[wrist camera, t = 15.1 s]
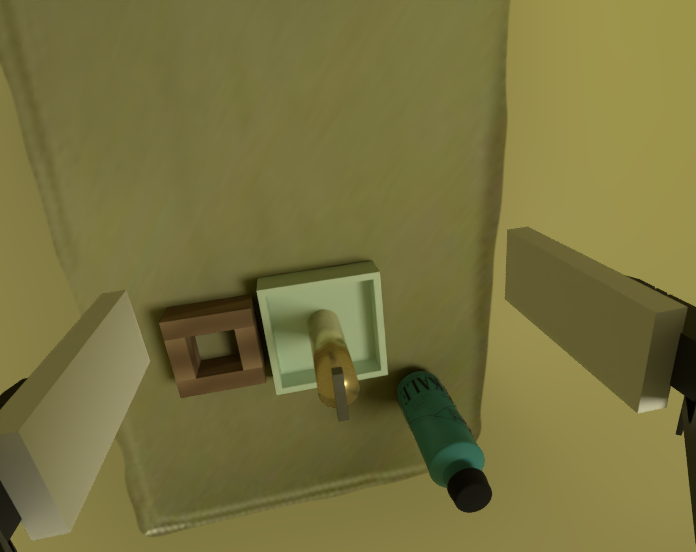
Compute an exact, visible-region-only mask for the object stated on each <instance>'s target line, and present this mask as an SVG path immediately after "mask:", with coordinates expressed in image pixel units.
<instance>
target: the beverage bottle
mask: <svg viewBox="0 0 696 552" xmlns="http://www.w3.org/2000/svg"><path fill="white" fill-rule="evenodd" d="M444 389H445V387H444V388H443V385H442V384H441V383H440V382H439V380H438V378H437V377H435V376H434V375H433V374H431V373H429V372H425V371H419V372H414V373H411V374H409V375H408V376H406V377H405V378H404V379H403V380H402V381H401V383H400V384H399V386H398V390H397V397H398V402H399V403H400V405H399V406H401V410H403V412H404V415H405V417H406V419H407V420H406V419H405V420H406V421H407V422H408V424H409V426H410V429H411V431H412V432H413V435H414V437H415V439H416V442H417V444H418V446H419V449H420V451H421V454H422V456H423V458H424V461H425V463H426V465H427V468H428V470H429V474H430V476H431V478H432V480H433V481H434V482H435V483H436V484H438V485H439V486H442V487H445V488H447V490H448V493H449V495H450V497H451V498H452V500H453V501H454V503H455V505H456V506H457V508H458V509H460V510H461V511H463V512H467V513H471V512H476V511H479V510H481V509H483V508H484V507H485V506H486V505H487V504H488V503H489V502H490V500H491V497H492V491H491V488H490V486H489V484H488V481H487V478H486V476H485V475H484V473H483V472H482V469H483V467H484V462H485V459H484V454H483V452H482V450H481V449H480V447H478V445H477V443H476V441H475V439H474V438H473V436H474V435H473V436H472V434H473V433H472V434H471V432H470V431H471V430H469V429H470V428H469V429H468V428H467V426H468V425H467V426H466V424H467V423H464V420H463V418H461V416H460V414H459V412H458V411H457V408H455V407H456V405H455V406H454V405H453V402H452V400H451V398H450V396H448V395H449V394H448V393H447V391H445V390H444ZM447 394H448V395H447ZM404 415H403V416H404ZM405 417H404V418H405ZM468 427H469V426H468ZM410 429H409V430H410Z"/></svg>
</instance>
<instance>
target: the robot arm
mask: <svg viewBox="0 0 696 552" xmlns="http://www.w3.org/2000/svg"><path fill="white" fill-rule="evenodd" d="M506 257H507V258H506V286H505V300H507V301H508V302H509V303H510V304H511V305H513V306H514V307H515V308H516V309H517V310H518V311H519V312H521V313H522V314H523V315H524V316H525V317H526V318H528V319H529V320H530V321H531V322H532V323H533V324H535V325H536V326H537V327H538V328H539V329H540V330H542V331H543V332H544V333H545V334H546V335H547V336H549V337H550V338H551V339H552V340H553V341H554V342H556V343H557V344H558V345H559V346H560V347H561V348H562V349H563V350H565V351H566V352H567V353H568V354H569V355H570V356H572V357H573V358H574V359H575V360H576V361H577V362H579V363H580V364H581V365H582V366H583V367H584V368H586V369H587V370H588V371H589V372H590V373H591V374H592V375H594V376H595V377H596V378H597V379H598V380H599V381H601V382H602V383H603V384H604V385H605V386H606V387H608V388H609V389H610V390H611V391H612V392H614V393H615V394H616V395H617V396H618V397H619V398H620V399H622V400H623V401H624V402H625V403H626V404H627V405H628V406H630V407H631V408H632V409H633V410H634V411H635V412H637V413H642V412H647V411H651V410H656V409H661V408H665V407H666V406H667V402H668V397H669V392H670V388H671V386H672V387H673V388H675V389H676V390H678V391H679V392H680V393H682V394H683V395H684V400H683V404H682V409H681V413H680V417H679V422H678V426H677V430H676V434H677V435H682V433H683V430H684V438H685V447H686V457H687V467H688V476H689V485H690V494H691V504H692V514H693V523H694V533H695V542H696V307H695V306H693V305H691V304H689V303H687V302H684V301H683V300H681V299H679V298H676V297H674V296H672V295H667V293H666V292H664V291H662V290H660V289H658V288H656V289H655V287H654V286H652V285H650V284H648V283H646V282H644V281H642V280H640V279H636V278H633V277H629V276H626V275H623V274H621V273H619V272H617V271H615V270H613V269H611V268H609V267H607V266H605V265H603V264H601V263H599V262H597V261H595V260H593V259H591V258H589V257H587V256H585V255H583V254H581V253H579V252H577V251H575V250H573V249H571V248H569V247H567V246H565V245H563V244H561V243H559V242H557V241H555V240H553V239H551V238H549V237H547V236H545V235H543V234H541V233H539V232H537V231H535V230H533V229H531V228H529V227H522V228H516V229H509V230H507V256H506ZM149 363H150V359H149V356H148V353H147V350H146V347H145V344H144V341H143V338H142V335H141V332H140V329H139V326H138V323H137V320H136V317H135V314H134V311H133V308H132V305H131V302H130V299H129V296H128V293H127V290H122V291H116V292H110V293H103V294H101V295H100V296H99V298H98V299H97V300H96V301H95V302H94V303H93V304H92V306H91V307H90V308H89V309H88V310H87V311H86V312H85V314H84V315H83V316H82V317H81V318H80V320H78V322H77V323H76V324H75V325H74V326H73V327H72V328H71V330H70V331H69V332H68V333H67V334H66V335H65V337H64V338H63V339H62V340H61V341H60V342H59V343H58V344H57V346H56V347H55V348H54V349H53V350H52V351H51V352H50V354H49V355H48V356H47V357H46V358H45V359H44V360H43V361H42V363H41V364H40V365H39V366H38V367H37V368H36V369H35V371H34V372H33V373H32V374H31V375H30V376H29V377H28V378H26V379H22V380H20V381H19V382H18V383H16V384H15V385H14V386H12V387H11V388H9V389H8V390H6V391H5V392H4V393H2V394H1V395H0V552H17V550H16V548H15V547H14V545H13V543H12V542H11V540H10V538H11V536H12V535H13V533H14V531H15V530H16V528H17V526H18V525H19V523H20V521H21V522H22V524H23V526H24V528H25V529H26V531H27V533H28V535H29V536H30V538H31V540H32V541H33V540H38V539H42V538H48V537H52V536H57V535H62V534H66V533H70V532H71V530H72V528H73V526H74V524H75V521H76V519H77V517H78V515H79V513H80V511H81V509H82V506H83V504H84V502H85V500H86V498H87V496H88V493H89V491H90V489H91V487H92V485H93V483H94V481H95V478H96V476H97V474H98V472H99V470H100V468H101V466H102V463H103V461H104V459H105V457H106V455H107V453H108V451H109V448H110V446H111V444H112V442H113V440H114V438H115V436H116V433H117V431H118V429H119V427H120V425H121V423H122V421H123V418H124V416H125V414H126V412H127V410H128V408H129V406H130V403H131V401H132V399H133V397H134V395H135V393H136V391H137V388H138V386H139V384H140V382H141V380H142V378H143V376H144V373H145V371H146V369H147V367H148V365H149Z"/></svg>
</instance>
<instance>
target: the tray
mask: <svg viewBox="0 0 696 552" xmlns="http://www.w3.org/2000/svg"><path fill="white" fill-rule="evenodd" d="M257 296H258V301H259V306H260V311H261V316H262V322H263V327H264V332H265V337H266V342H267V347H268V352H269V358H270V363H271V368H272V373H273V378H274V383H275V388H276V394H277V395H280V394H285V393H291V392H296V391H302V390H307V389H313V388H317V382H316V376H315V370H314V364H313V358H312V351H311V345H310V339H309V333H308V327H307V323H308V319H309V317H310V316H311V315H312V314H313V313H314V312H316V311H318V310H323V309H326V310H330V311H332V312H334V313H335V314H336V315H337V317H338V319H339V322H340V325H341V328H342V331H343V334H344V337H345V341H346V344H347V347H348V350H349V353H350V356H351V360H352V363H353V366H354V369H355V372H356V375H357V378H358V380H362V379H368V378H373V377H379V376H384V375H388V369H387V357H386V344H385V332H384V319H383V306H382V294H381V281H380V271H379V270H378V268H377V267H376V265H375V264H374V262H373V261H366V262H360V263H353V264H346V265H340V266H333V267H327V268H320V269H313V270H307V271H300V272H294V273H287V274H280V275H274V276H267V277H261V278H258V279H257Z"/></svg>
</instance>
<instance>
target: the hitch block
mask: <svg viewBox="0 0 696 552" xmlns="http://www.w3.org/2000/svg"><path fill="white" fill-rule="evenodd" d="M159 326H160V329H161V332H162V336H163V339H164V343H165V346H166V349H167V353H168V356H169V360H170V363H171V366H172V370H173V373H174V377H175V380H176V383H177V387H178V390H179V394H180V397H181V398H184V397H189V396H195V395H201V394H206V393H212V392H217V391H223V390H229V389H234V388H240V387H245V386H251V385H257V384H262V383H266V361H265V356H264V351H263V346H262V341H261V336H260V331H259V326H258V321H257V316H256V311H255V306H254V301H253V296H252V295H246V296H239V297H233V298H227V299H220V300H214V301H207V302H201V303H194V304H188V305H182V306H175V307H169V308H166V310H165V312H164V314H163V316H162V318H161V320H160V322H159ZM228 330H235V335H236V339H237V344H238V348H239V353H240V354H236V355H231V356H225V357H219V358H213V359H207V360H201V359H200V355H199V351H198V347H197V343H196V340H195V336H197V335H203V334H209V333H216V332H222V331H228Z"/></svg>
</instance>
